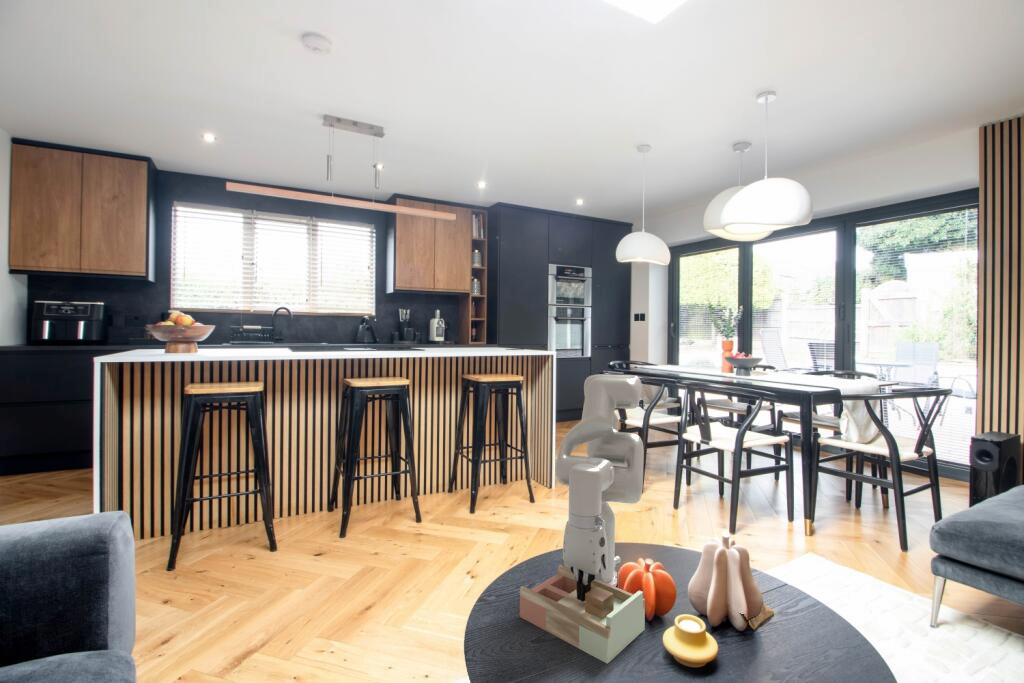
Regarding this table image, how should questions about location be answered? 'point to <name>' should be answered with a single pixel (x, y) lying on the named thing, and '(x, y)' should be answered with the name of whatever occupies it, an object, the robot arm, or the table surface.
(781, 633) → the table surface
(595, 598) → the walnut block
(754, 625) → the shard
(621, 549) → the table surface
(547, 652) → the table surface
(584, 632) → the box
